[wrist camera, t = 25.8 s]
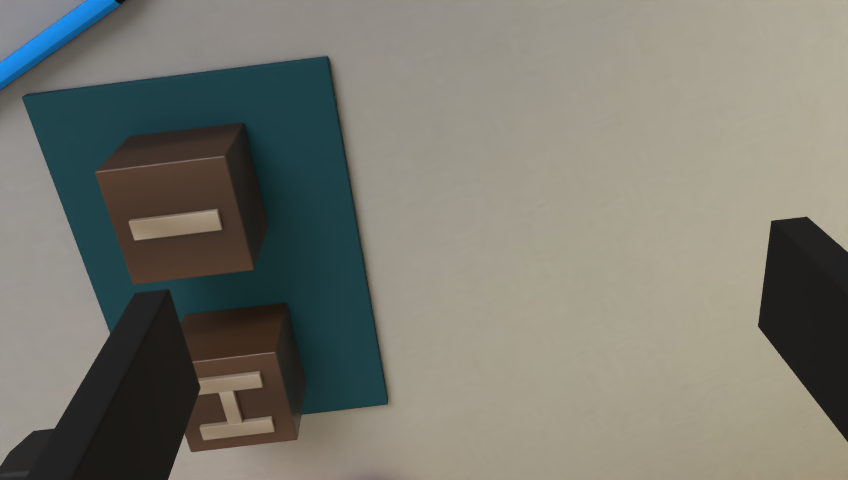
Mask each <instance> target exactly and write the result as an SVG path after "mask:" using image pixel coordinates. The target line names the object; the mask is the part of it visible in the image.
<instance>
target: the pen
mask: <svg viewBox="0 0 848 480" xmlns="http://www.w3.org/2000/svg"><path fill="white" fill-rule="evenodd" d="M124 1H125V0H87V1H85V2H84V3H82V4H81V5H80V6H78V7H77V8H75V9H74V10H73V11H71V12H70V13H68V14H67V15H66V16H64V17H63V18H61V19H60V20H59V21H57V22H56V23H55V24H53V25H52V26H50V27H49V28H48V29H46V30H45V31H43V32H42V33H41V34H39V35H38V36H36V37H35V38H34V39H32V40H31V41H29V42H28V43H27V44H25V45H24V46H23V47H21V48H20V49H18V50H17V51H16V52H14V53H13V54H11V55H10V56H9V57H7V58H6V59H4V60H3V61H2V62H0V90H1V89H3V88H4V87H5V86H7V85H8V84H10V83H11V82H12V81H14V80H15V79H17V78H18V77H19V76H21V75H22V74H24V73H25V72H27V71H28V70H29V69H31V68H32V67H34V66H35V65H36V64H38V63H39V62H41V61H42V60H43V59H45V58H46V57H48V56H49V55H51V54H52V53H53V52H55V51H56V50H58V49H59V48H60V47H62V46H63V45H65V44H66V43H67V42H69V41H70V40H72V39H73V38H75V37H76V36H77V35H79V34H80V33H82V32H83V31H84V30H86V29H87V28H89V27H90V26H91V25H93V24H94V23H96V22H97V21H98V20H100V19H101V18H103V17H104V16H106V15H107V14H108V13H110V12H111V11H113V10H114V9H115V8H117V7H118V6H120V5H121V4H122V3H123V2H124Z"/></svg>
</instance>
